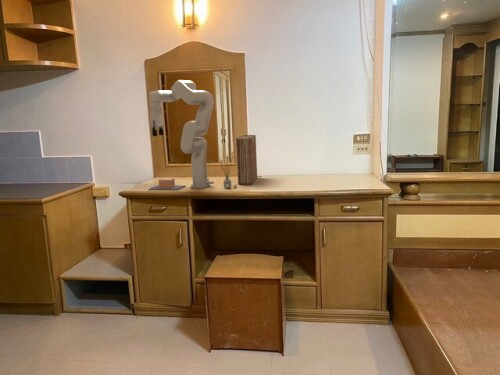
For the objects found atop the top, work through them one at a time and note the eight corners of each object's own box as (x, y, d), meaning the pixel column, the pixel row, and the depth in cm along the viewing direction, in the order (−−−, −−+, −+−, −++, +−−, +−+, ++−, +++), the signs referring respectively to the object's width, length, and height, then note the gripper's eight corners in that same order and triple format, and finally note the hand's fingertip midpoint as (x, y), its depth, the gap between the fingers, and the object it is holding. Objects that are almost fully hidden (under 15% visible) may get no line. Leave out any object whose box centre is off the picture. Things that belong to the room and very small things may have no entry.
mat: (185, 186, 252) (185, 185, 252) (178, 190, 240) (178, 189, 240) (156, 186, 256) (156, 185, 256) (148, 190, 245) (148, 189, 245)
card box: (162, 186, 251) (161, 178, 250) (175, 186, 250) (174, 178, 249) (159, 188, 246) (158, 180, 245) (172, 187, 245) (171, 180, 244)
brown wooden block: (252, 184, 249) (250, 137, 244) (237, 184, 251) (235, 137, 245) (257, 177, 274) (255, 134, 268) (244, 178, 275) (242, 135, 270)
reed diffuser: (220, 189, 238) (218, 156, 235) (221, 187, 245) (219, 155, 241) (236, 188, 238) (235, 156, 235) (237, 186, 245) (235, 154, 241)
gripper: (156, 110, 273) (158, 134, 276) (144, 110, 256) (147, 136, 259) (166, 109, 271) (168, 134, 274) (155, 109, 254) (157, 136, 258)
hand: (158, 135), depth 267 cm, fingers open, 9 cm apart
